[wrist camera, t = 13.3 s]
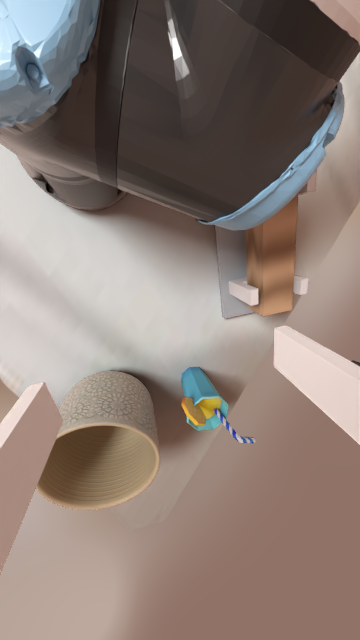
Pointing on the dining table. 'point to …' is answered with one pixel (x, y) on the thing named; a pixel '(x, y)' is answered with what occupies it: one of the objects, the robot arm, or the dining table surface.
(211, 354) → the dining table surface
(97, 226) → the dining table surface
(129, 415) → the planter
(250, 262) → the rail
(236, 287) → the bracket board
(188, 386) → the cup
